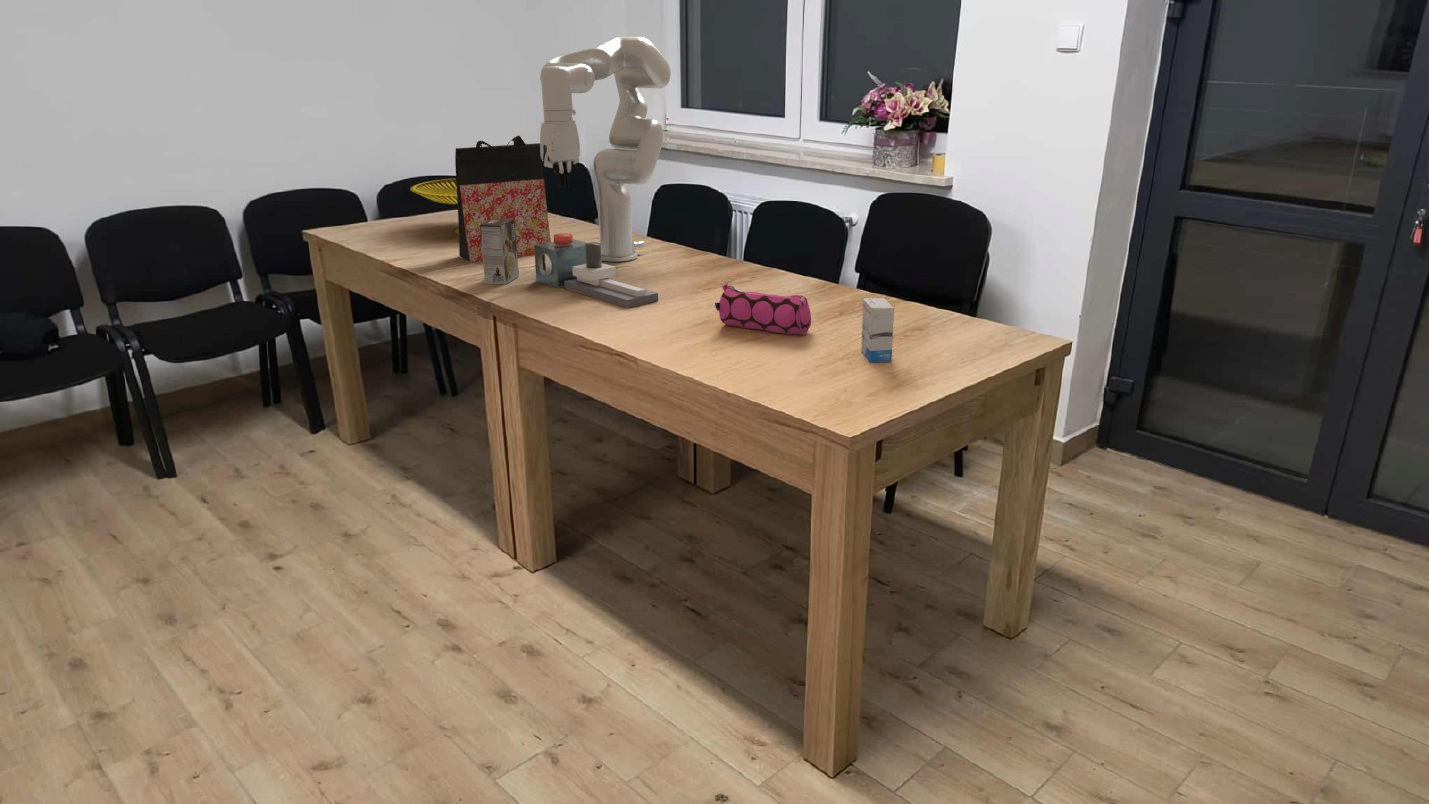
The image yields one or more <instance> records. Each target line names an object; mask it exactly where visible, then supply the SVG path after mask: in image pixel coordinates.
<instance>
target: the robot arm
mask: <svg viewBox="0 0 1429 804" xmlns="http://www.w3.org/2000/svg"><path fill="white" fill-rule="evenodd" d="M671 74H672V73H671V68H670V65H669V62H668V60H667V59H666V58H665V57H664V55H663V54H662V53H661V52H660V50H658V48H657V47H656V46H655V45H654V43H652V42H651V41H650V40H649V39H648V38H646V37H643V36H614V37H611V38H609V39H607V40H604V41H603V42H601V43H599V44H598V45H596V46H593V47H591V48H586V49H583V50H578V51H576V52H572V53H568V54H567V53H566V54H563V55H560V56H557V57H555V58H553V59H551V60H549V61H547V62H546V63H545V64H544V65H543V67H542V68H541V70H540V76H539V77H540V84H541V96H542V108H543V109H542V110H543V120H544V122H541V124H540V125H541V126H540V134H539V135H540V136H539V143H540V154H541V159H542V162H543V161H544V162H543V167H545V168H549V169H550V168H551V170H553V172H554V173H555V174H556V184H557V185H556V186H557V188H560V189H564V190H565V189H569V188H570V172H572V168H573V166H574V165H576V164H578V163H579V162H580V156H581V145H580V139H579V137H580V136H579V132H578V127H577V124H576V120H574V116H576V113H577V112H576V110H575V109H574V108H573V98H572V94H585V93H587V92H589V91H590V90H591V89H592V88H593V87H594V85H595V81H599V80H605V79H608V77H610V76H612V75H614V80H615V84H616V89H617V92H618V97H619V101H618V102H619V104H618V106H617V110H616V114H615V116H614V119H613V122H612V125H611V127H610V131H609V134H608V141H609V144H610V146H611V147H612V148H605V149H602V150H600V151H598V152H597V153H596V154H595V156H594V158H593V162H592V163H593V165H592V167H593V173H594V176H595V181H596V187H597V188H596V189H597V199H598V200H597V202H598V225H599V226H598V228H599V243H601V259H602V262H612V263H613V262H615V263H617V262H627V261H632V260H633V261H634V260H636V259H637V258H638V252H636V250H637V249H640V248H644V247H645V242H644V241H642V240H640V241H635V240H633V238H632V237H633V236H632V235H633V234H632V233H633V231H632V230H633V229H632V199H631V194H630V192H629V190H628V188H627V187H626V185H637V186H638V185H641V186H642V185H645V184H647V183H649V181H650V180H651V178H652V176H653V174H654V170H655V168H656V165H657V162H658V159H659V156H660V153H661V151H662V150H661V149H662V147H663V143H664V130H663V126H662V125H661V123H660V122H659V121H658V120H656V119H653V118H647V115H648V105H647V104H648V103H647V102H646V99H645V98H644V96H643V95H642V94H641V92H640V90H639V89H662V88H665V87H666V86H667V85H669V82H670V81H671ZM625 184H626V185H625Z"/></svg>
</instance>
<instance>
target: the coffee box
mask: <svg viewBox="0 0 1429 804" xmlns="http://www.w3.org/2000/svg"><path fill="white" fill-rule="evenodd" d="M480 232H481V244H482V255H483V261H482V265H483V275H484V276H483V277H484V283H485V284H489V285H490V284H491V285H492V284H493V285H507V284H509V283H511V282H512V281H513V280H514V281H515V280H516V279H517V278H519V276H520V274H519V273H520V272H519V260H518V258H519V257H517V245H516V231H515V219H492V220H489V221H487V222H485V223H483V224H480Z"/></svg>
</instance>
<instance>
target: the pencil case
mask: <svg viewBox="0 0 1429 804" xmlns="http://www.w3.org/2000/svg"><path fill="white" fill-rule="evenodd" d="M722 290H723V292H722V293H721V296H720V299H719V302H718V301H717V302H715V303H714V306H715V310H716V311H717V312H718V316H719V319H720V321H721V322H722V324H724V325H726V326H728V327H729V326H730V327H736V326H739V327H738V328H743V327H745V328H744V329H750V328H751V329H752V330H753V329H755V330H761V331H766V332H771V333H778V334H783V335H796V336H797V335H801V336H805V335H806V334H808V332H809V329H810V328H811V325H812V316H811V315H812V314H811V309H810V305H809V302H808V299H807V297H806V296H804V295H802V294H801V295H800V294H793V295H791V296H783V295H779V294H778V295H777V294H768V293H767V294H766V293H761V292H755V291H743V290H742V289H739V288H737V287H735V286H733V285H731V284H730V285H729V282H726V283H724V284H723V285H722ZM751 329H750V330H751Z"/></svg>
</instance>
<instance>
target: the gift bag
mask: <svg viewBox="0 0 1429 804" xmlns="http://www.w3.org/2000/svg"><path fill="white" fill-rule="evenodd" d="M511 141H512V142H513V144H510V143H511ZM482 145H485V146H482ZM454 155H455V158H454V161H455V162H454V165H455V179H456V182H455V185H456V187H457V203H458V204H457V217H458V218H457V219H458V221H457V223H458V229H459V234H458V254H459V257H460V258H461V259H464V261H465V260H466V261H467V262H468V261H469V263H471V262H472V263H479V261H481V262H483V255H482V244H481V232H480V224H483V223H485V222H487V221H489V220H492V219H515V231H516V245H517V258H520V257H527V256H530V257H531V256H535V252H534V245H536V244H542V243H548V242H552V239H551V232H550V222H549V217H548V216H549V215H548V207H547V205H548V204H547V197H546V195H547V194H546V187H545V176H544V174H545V173H544V162H543V160H542V159H541V154H540V142H539V143H536V142H535V143H525V141H524V140H523V138H522V137H521V135H517V136H515V137H513V138H512V139H511V140H510V141H509V142H507V144H506V145H503V144H502V145H491V144H489V143H487V142H485V141H483V140H478V141H476V144H475V146H474V147H473V146H471V147H458V148H457V147H456V148H455V153H454Z"/></svg>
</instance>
